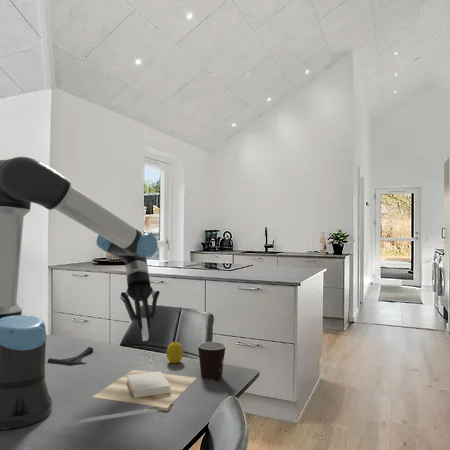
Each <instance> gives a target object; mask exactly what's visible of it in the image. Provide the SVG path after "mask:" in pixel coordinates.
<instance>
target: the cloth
mask: <svg viewBox="0 0 450 450" xmlns="http://www.w3.org/2000/svg"><path fill="white" fill-rule="evenodd" d="M150 372H151V371H145V370H144V371H143V370H136V369H132V370H129V372H127V373H126V374H124V375H123V376H122V377H119V378H118V379H117V380H115V381H113V383H112V382H111V384H109V385H108V386H106V387H105V388H104V389H102V390H100V391H99V392H97V393H96V394H94V395H93V396H92V398H94V399H103V400H107V401H108V400H109V401H115V402H122V403H129V404H136V405H141V406H143V405H144V406H150V407H148V409H149V410H156V411H165V412H168V411H169V410H170V409H171V408H172V407H173V406H174V405H175V404H174V402H175V401H176V400H177V399H178V398H179V397H180V396H181V395H182V394H183V393H184V392H185V391H186V389H188V387H189V386H191V385H192V383H193V382H195V381H196V379H197V377H194V376H186V375H177V374H168V373H162V374H163V375H164V377H165V378H166V380H167V381H168V383H169V384H170V386H171V388H170V393H166V394H159V395H151V396H144V397H137V398H134V397H133V395H132V392H131V390H130V387H129V385H128V383H127V375H133V374H142V373H150Z"/></svg>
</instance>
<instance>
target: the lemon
mask: <svg viewBox="0 0 450 450" xmlns="http://www.w3.org/2000/svg"><path fill="white" fill-rule="evenodd" d="M183 357H184V349H183V346H182V345H181V343H179V342H177V341H176V340H175V341H173V342H171V343H170V344H169V345H168V347H167V349H166V358H167V360H168V362H170V363H171V364H178V363H180V362H181V361H182V360H183V359H182V358H183Z"/></svg>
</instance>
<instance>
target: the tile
mask: <svg viewBox="0 0 450 450" xmlns="http://www.w3.org/2000/svg"><path fill="white" fill-rule="evenodd" d="M149 372H150V373H142V374H133V375H127V383H128V385H129V387H130V390H131V392H132V395H133V397H134V398H137V397H144V396H151V395H159V394H166V393H170V388H171V386H170V384H169V383H168V381H167V380H166V378H165V377H164V375H163V374H164V373H162V371H161V370H160V371H149Z"/></svg>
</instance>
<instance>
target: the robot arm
mask: <svg viewBox="0 0 450 450" xmlns="http://www.w3.org/2000/svg"><path fill="white" fill-rule="evenodd" d="M32 204H36V205H39V206H41V207H43V208H45V209H47V210H49V211H51V210H56V211H58V212H60V213H61V214H63V215H64V216H66V217H68V218H70V219H71V220H73V221H75V222H77V223H78V224H79V225H82V226H83V227H85V228H87V229H89V230H90V231H91V232H93V233H95V234H97V237H96V246H97V247H98V248H100V249H101V250H103V252H106V253H108V254H109V255H111V256H113V257H115V258H117V259H118V260H119V261H120V260H121V261H122V262H124V264H125V272H126V273H125V275H126V283H127V284H126V285H127V289H126V291H125V292H124V291H123V292H120V300H121V301H122V303H124V306H125V310H126V312H127V314H128V317H129V319H130V321H132V322H133V321H135V322H136V324H137V331H141V338H142V342H147V341H149V337H150V336H149V330H150V329H151V326H152V324H151V321H152V320H154V319H155V317H156V309H157V301H158V299H159V296H160V293H161V292H160V291H159V290H156V291H155V290H154V289H153V287H152V286H151V280H150V273H149V268H148V267H149V266H148V263H147V261H148V260H147V258H149V257H150V258H151V257H152V256H154V254H156V252H157V249H158V244H159V243H158V239H157V237H156V236H155V235H153V234H152V233H147V232H142V231H140V230H139V229H137V228H135V227H134V226H133V225H130V224H129V223H127V222H126V221H124V220H123V219H122V218H120V217H119V216H117V215H116V214H114V213H113V212H111V211H109V210H108V209H107V208H105V207H103V206H102V205H101V204H99V203H98V202H96V201H95V200H93V199H92V198H90V197H89V196H87V195H86V194H85V193H83V192H81V191H79V190H78V189H77V188H75V187H74V186H72V181H71V180H70V179H68V178H67V177H65V176H64V174H61V173H59V172H58V171H57V170H55V169H53V168H51V167H50V166H48V165H47V164H44V163H43V162H41V161H39V160H37V159H35V158H32V157H27V156H16V157H13V158H9V159H1V160H0V428H14V429H19V428H18V427H20V428H23V427H27V426H30V425H34V424H36V423H38V422H41V421H43V419H46V418H47V417H48V416H49V415H51V413H52V410H53V400H52V397H51V396H50V393H49V390H48V389H49V388H48V386H47V383H46V377H45V376H46V351H47V350H46V345H47V343H46V341H47V331H46V324H45V321H44V320H42V319H41V318H39V317H37V316H35V315H34V316H33V315H23V314H22V313H23V309H22V307H21V306H20V305H19V304H18V302H17V301H18V300H17V298H18V287H19V275H20V265H21V264H20V263H21V253H22V243H23V242H22V240H23V228H24V218H25V216H26V215H27V214H28V213H29V212H31V206H32ZM150 296H151V297H152V302H151V310H150V308H149V307H150V306H149V303H148V301H149V300H148V299H149V298H150ZM130 299H132V300H133V303H134V308H135V310H134V308H133V305H132V302H131V300H130ZM141 303H142V307H143V317H142V310H141Z"/></svg>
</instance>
